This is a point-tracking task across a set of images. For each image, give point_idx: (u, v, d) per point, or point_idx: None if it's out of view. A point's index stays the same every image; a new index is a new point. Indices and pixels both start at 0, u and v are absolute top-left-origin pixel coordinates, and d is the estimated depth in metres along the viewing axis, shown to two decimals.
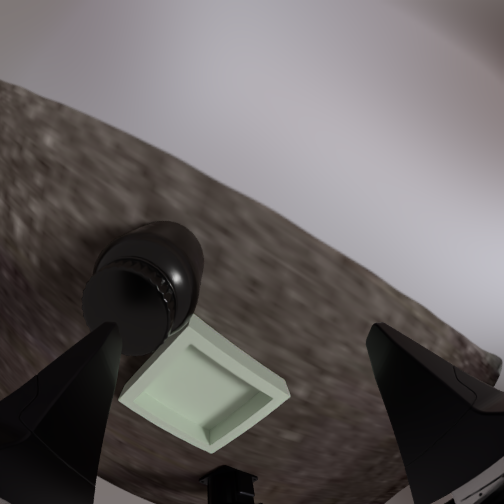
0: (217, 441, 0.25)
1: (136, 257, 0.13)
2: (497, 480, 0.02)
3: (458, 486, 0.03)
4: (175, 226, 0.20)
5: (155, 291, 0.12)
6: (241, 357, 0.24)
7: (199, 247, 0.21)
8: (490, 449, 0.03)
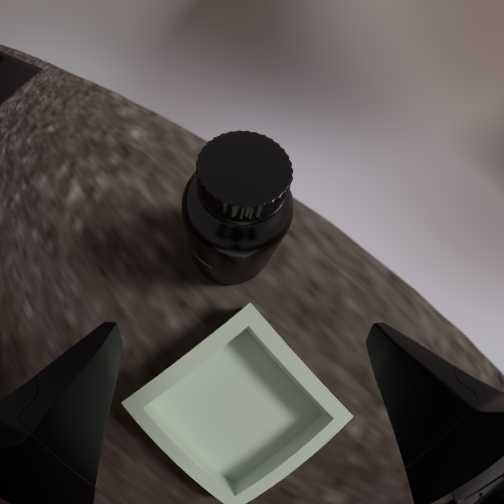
0: (248, 489, 0.15)
1: None
2: (497, 480, 0.02)
3: (458, 486, 0.03)
4: None
5: (282, 152, 0.13)
6: None
7: None
8: (490, 449, 0.03)
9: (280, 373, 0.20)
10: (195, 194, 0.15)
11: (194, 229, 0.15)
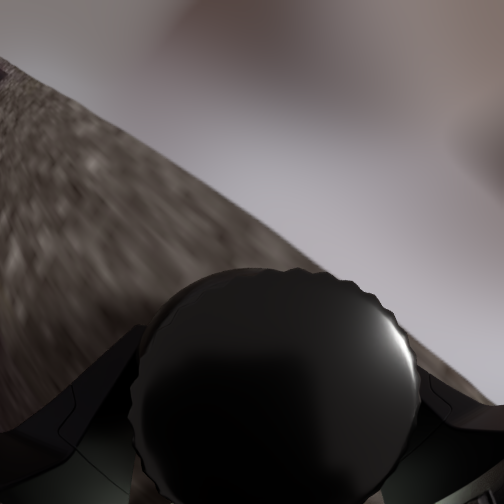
0: None
1: None
2: (471, 502, 0.02)
3: (430, 503, 0.03)
4: None
5: (402, 349, 0.04)
6: None
7: None
8: (464, 468, 0.03)
9: None
10: None
11: None
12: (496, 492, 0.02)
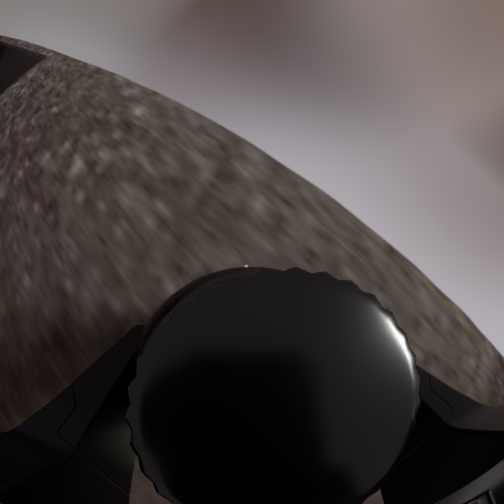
0: None
1: None
2: (471, 502, 0.02)
3: (430, 503, 0.03)
4: None
5: (401, 349, 0.04)
6: None
7: None
8: (463, 469, 0.03)
9: None
10: None
11: None
12: (496, 492, 0.02)
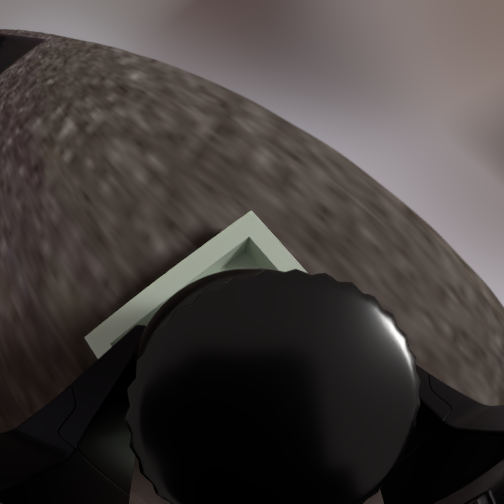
0: None
1: None
2: (471, 502, 0.02)
3: (430, 503, 0.03)
4: None
5: (401, 351, 0.04)
6: None
7: None
8: (463, 469, 0.03)
9: None
10: None
11: None
12: (496, 492, 0.02)
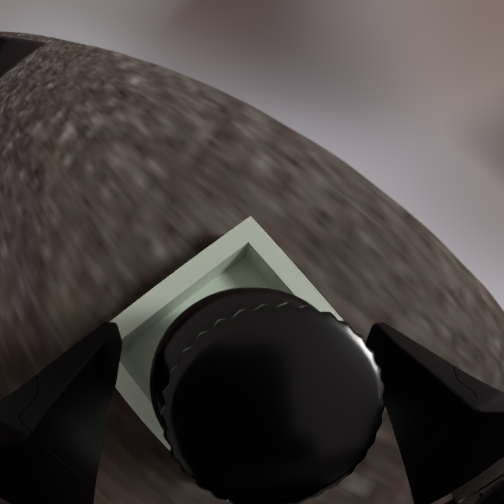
0: None
1: None
2: (497, 480, 0.02)
3: (458, 486, 0.03)
4: None
5: (369, 364, 0.05)
6: None
7: None
8: (490, 449, 0.03)
9: None
10: None
11: None
12: None
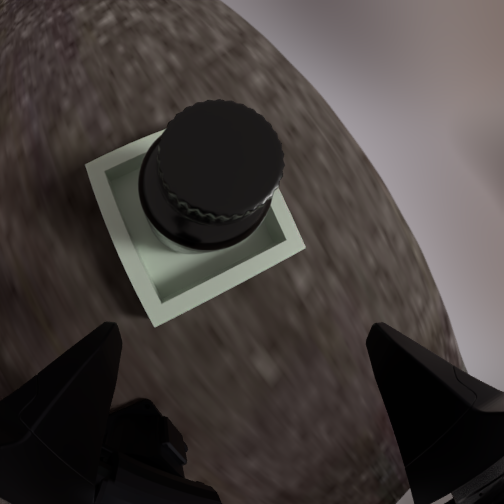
0: (178, 297, 0.18)
1: None
2: (497, 480, 0.02)
3: (458, 486, 0.03)
4: None
5: (277, 147, 0.10)
6: None
7: None
8: (490, 449, 0.03)
9: None
10: (156, 164, 0.11)
11: (145, 206, 0.11)
12: None
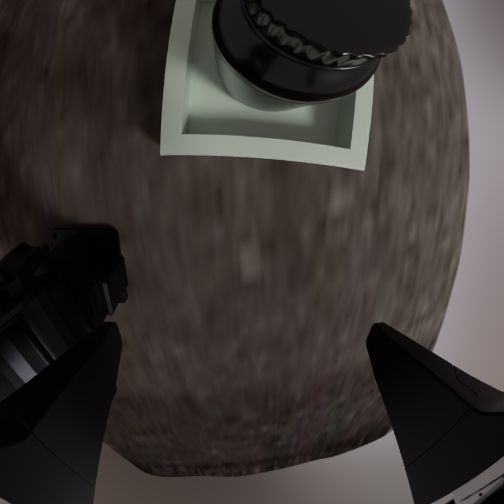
0: (202, 136, 0.14)
1: None
2: (497, 480, 0.02)
3: (458, 486, 0.03)
4: None
5: (405, 22, 0.04)
6: None
7: None
8: (490, 449, 0.03)
9: None
10: None
11: (215, 11, 0.07)
12: None
